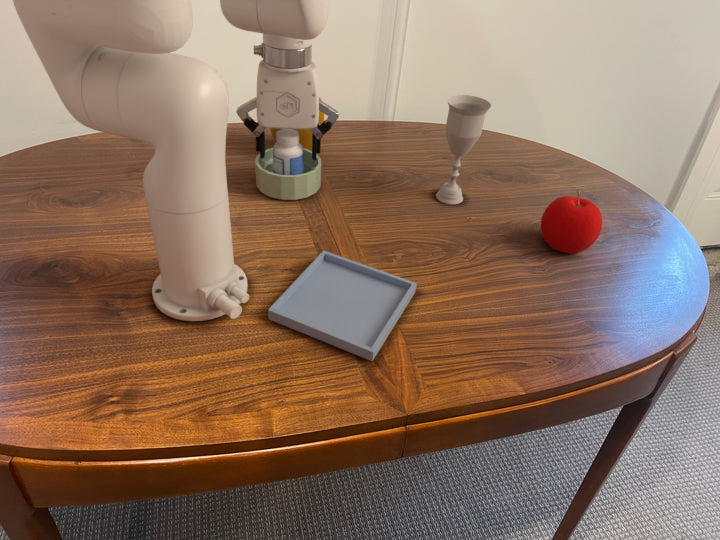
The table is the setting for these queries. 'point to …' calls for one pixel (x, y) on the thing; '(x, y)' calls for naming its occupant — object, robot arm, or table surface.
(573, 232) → the fruit
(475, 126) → the chalice
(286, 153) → the pill bottle
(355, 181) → the table surface
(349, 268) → the tray
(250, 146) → the table surface
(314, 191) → the bowl
